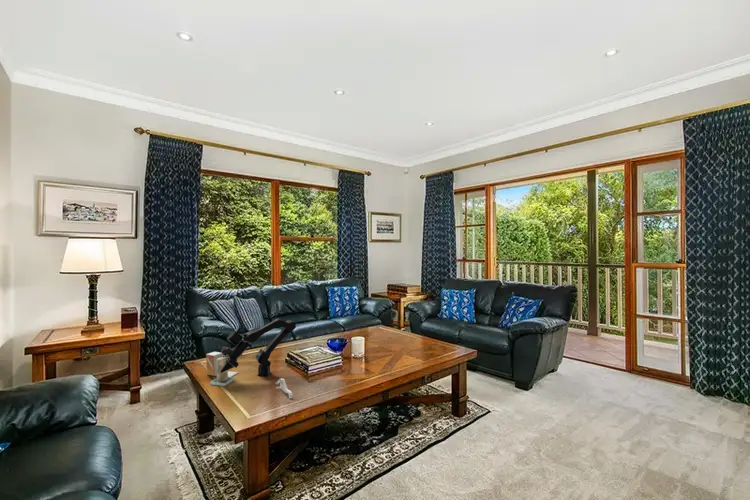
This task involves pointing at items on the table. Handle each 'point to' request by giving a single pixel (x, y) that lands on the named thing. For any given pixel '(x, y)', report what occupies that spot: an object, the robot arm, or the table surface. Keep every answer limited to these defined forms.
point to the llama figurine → (284, 387)
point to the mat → (232, 374)
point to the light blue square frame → (221, 383)
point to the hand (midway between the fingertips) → (219, 370)
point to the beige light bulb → (220, 364)
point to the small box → (212, 362)
